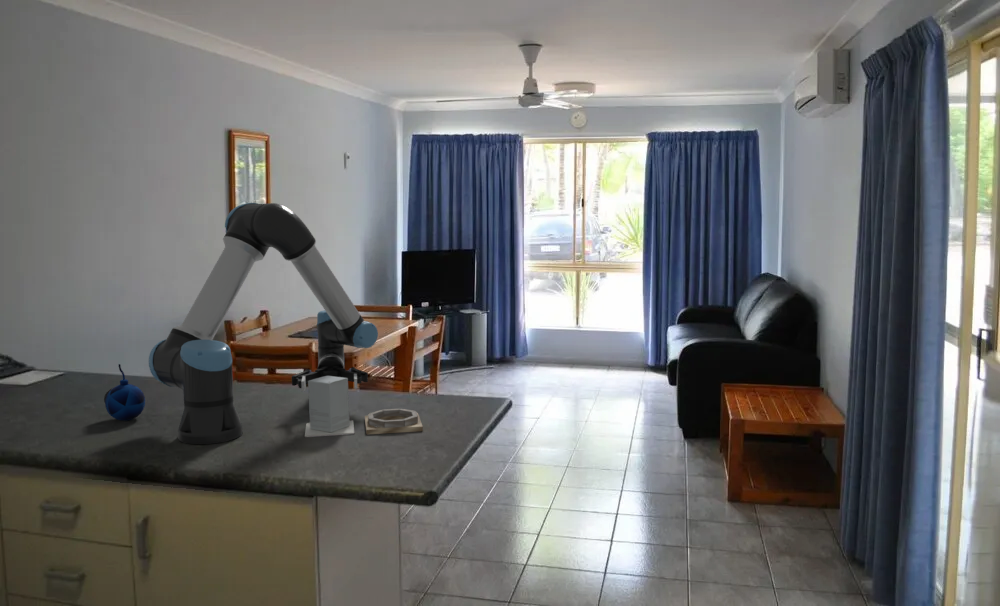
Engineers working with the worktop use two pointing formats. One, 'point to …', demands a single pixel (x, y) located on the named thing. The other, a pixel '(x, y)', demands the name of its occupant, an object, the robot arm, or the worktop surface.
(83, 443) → the worktop surface
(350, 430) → the coaster
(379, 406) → the worktop surface
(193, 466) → the worktop surface
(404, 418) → the ring stand
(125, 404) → the bomb
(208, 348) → the robot arm
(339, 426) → the supplement box
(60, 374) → the worktop surface
